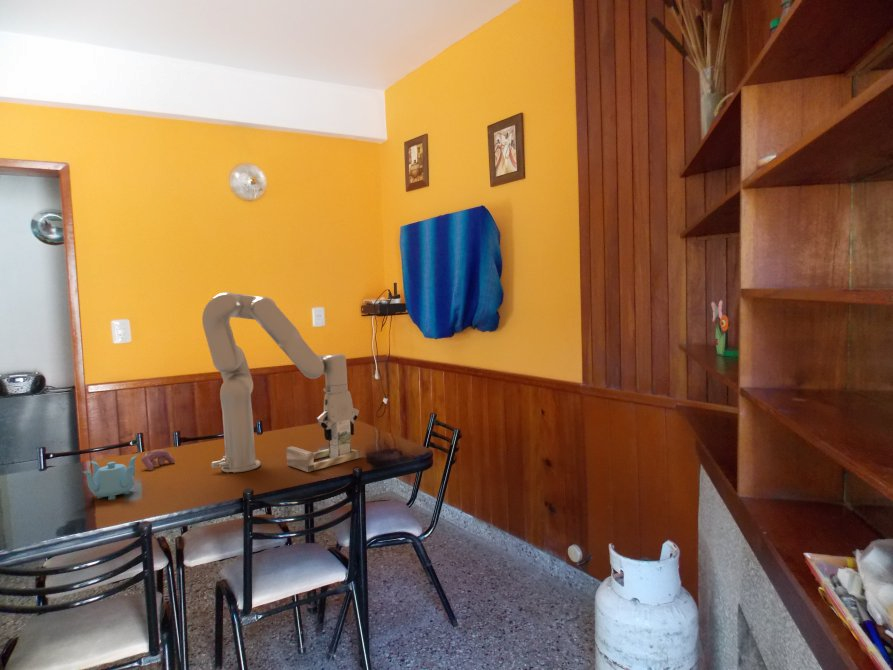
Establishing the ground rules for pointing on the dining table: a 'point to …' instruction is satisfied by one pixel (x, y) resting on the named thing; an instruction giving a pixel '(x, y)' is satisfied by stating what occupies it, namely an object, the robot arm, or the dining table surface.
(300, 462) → the frame
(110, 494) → the teapot
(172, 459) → the pink animal figurine
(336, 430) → the syrup box
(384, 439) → the dining table surface
